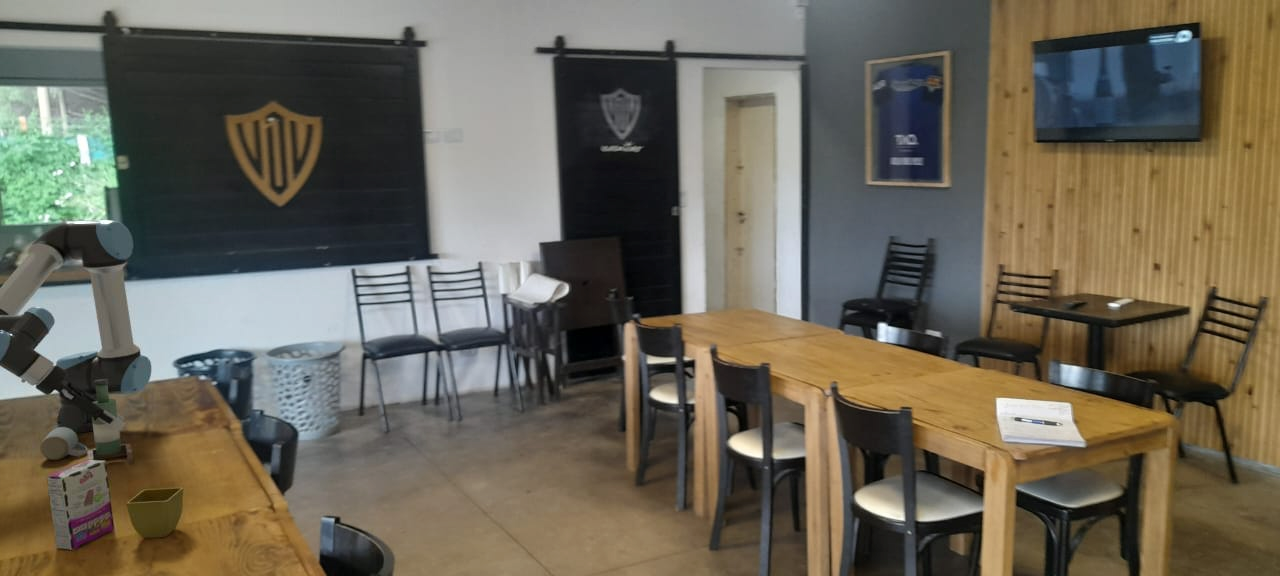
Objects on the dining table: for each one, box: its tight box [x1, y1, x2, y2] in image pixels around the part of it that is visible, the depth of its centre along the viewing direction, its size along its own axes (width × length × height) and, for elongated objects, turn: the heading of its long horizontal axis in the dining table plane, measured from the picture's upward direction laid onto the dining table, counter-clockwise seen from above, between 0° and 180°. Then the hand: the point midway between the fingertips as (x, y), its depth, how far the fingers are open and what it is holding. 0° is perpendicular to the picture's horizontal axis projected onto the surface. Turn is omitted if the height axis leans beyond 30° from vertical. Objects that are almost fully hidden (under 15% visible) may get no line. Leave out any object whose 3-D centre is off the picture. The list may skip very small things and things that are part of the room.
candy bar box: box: [46, 459, 115, 551], centre depth 201 cm, size 11×5×16 cm, turn 164°
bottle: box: [92, 379, 121, 455], centre depth 253 cm, size 6×6×20 cm
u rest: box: [87, 442, 134, 465], centre depth 255 cm, size 10×10×3 cm
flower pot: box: [126, 487, 184, 539], centre depth 204 cm, size 9×9×9 cm
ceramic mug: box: [40, 427, 88, 461], centre depth 260 cm, size 11×8×8 cm
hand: (121, 424), depth 255 cm, fingers closed on bottle, 6 cm apart
